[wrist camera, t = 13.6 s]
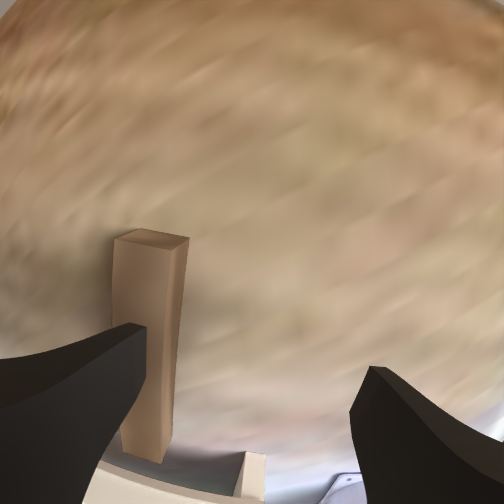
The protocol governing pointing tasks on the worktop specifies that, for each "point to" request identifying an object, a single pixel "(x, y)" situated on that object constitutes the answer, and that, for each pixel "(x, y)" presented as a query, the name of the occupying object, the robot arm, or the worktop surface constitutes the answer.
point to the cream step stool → (172, 487)
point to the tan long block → (150, 330)
